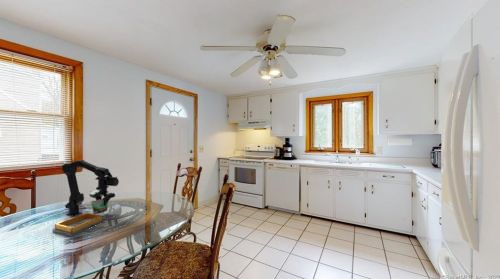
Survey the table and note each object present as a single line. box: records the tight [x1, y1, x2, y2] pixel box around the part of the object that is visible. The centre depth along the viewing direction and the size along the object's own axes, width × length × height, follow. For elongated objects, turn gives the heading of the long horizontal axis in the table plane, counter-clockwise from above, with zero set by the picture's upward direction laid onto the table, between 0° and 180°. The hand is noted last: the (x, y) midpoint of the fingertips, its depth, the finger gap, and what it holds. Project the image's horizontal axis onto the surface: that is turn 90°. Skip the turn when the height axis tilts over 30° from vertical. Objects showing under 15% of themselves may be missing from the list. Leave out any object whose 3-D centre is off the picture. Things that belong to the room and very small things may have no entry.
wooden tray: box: [52, 212, 105, 238], centre depth 133 cm, size 16×21×5 cm
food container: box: [90, 199, 109, 215], centre depth 151 cm, size 12×6×10 cm, turn 165°
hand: (101, 205), depth 151 cm, fingers closed on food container, 6 cm apart
